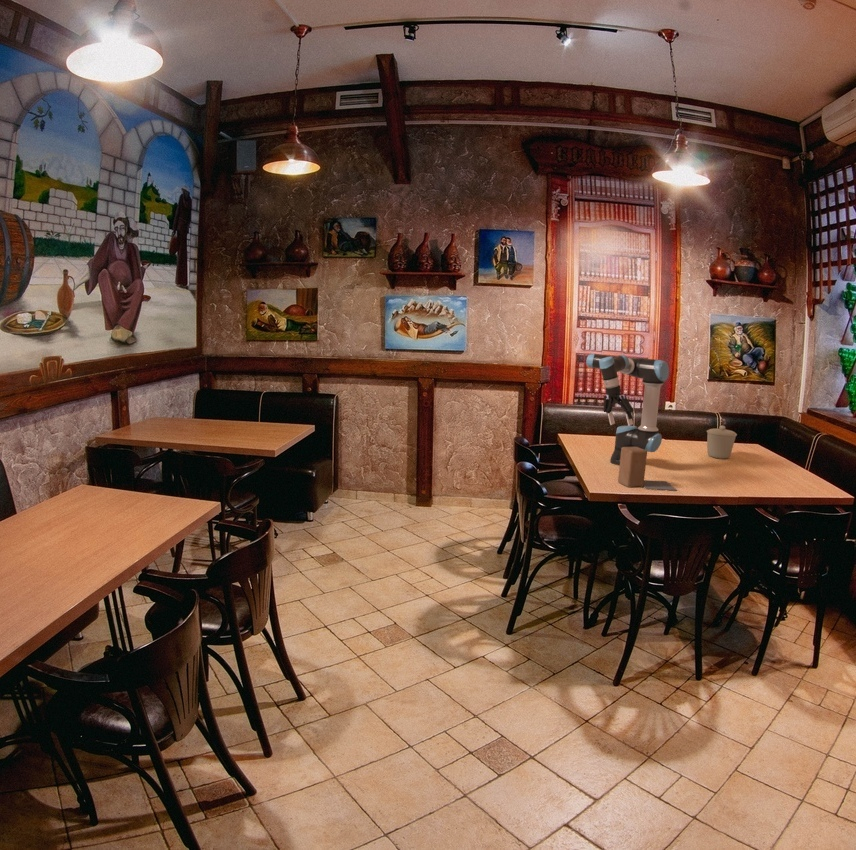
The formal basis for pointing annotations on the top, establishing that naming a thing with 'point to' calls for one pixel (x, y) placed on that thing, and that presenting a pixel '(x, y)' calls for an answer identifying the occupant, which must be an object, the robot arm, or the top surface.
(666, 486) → the mat
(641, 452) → the wooden block
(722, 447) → the canister
